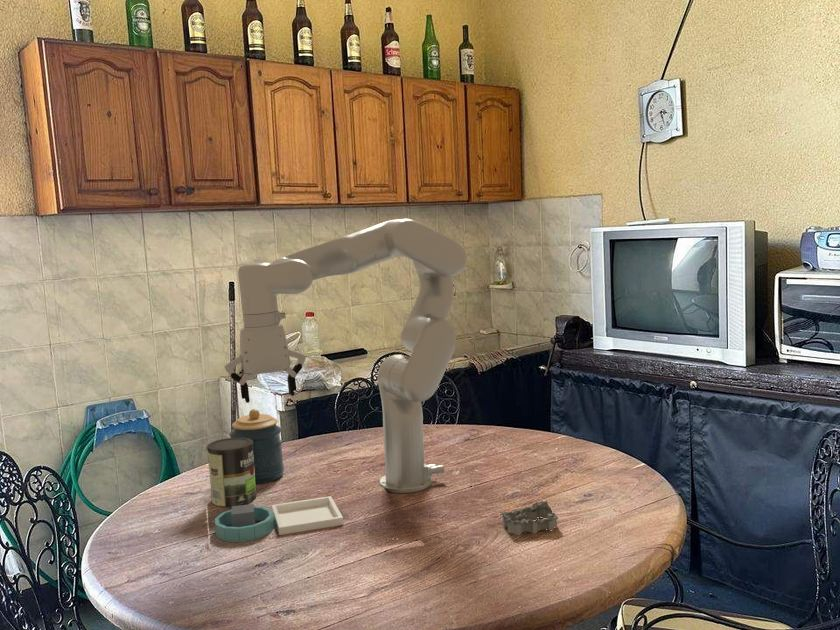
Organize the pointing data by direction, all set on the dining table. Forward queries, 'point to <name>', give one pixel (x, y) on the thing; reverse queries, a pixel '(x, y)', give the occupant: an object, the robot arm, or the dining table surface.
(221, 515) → the bowl
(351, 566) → the dining table surface
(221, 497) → the coffee can
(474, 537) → the dining table surface
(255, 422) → the canister
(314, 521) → the parts tray
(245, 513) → the slate block
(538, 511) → the egg carton
